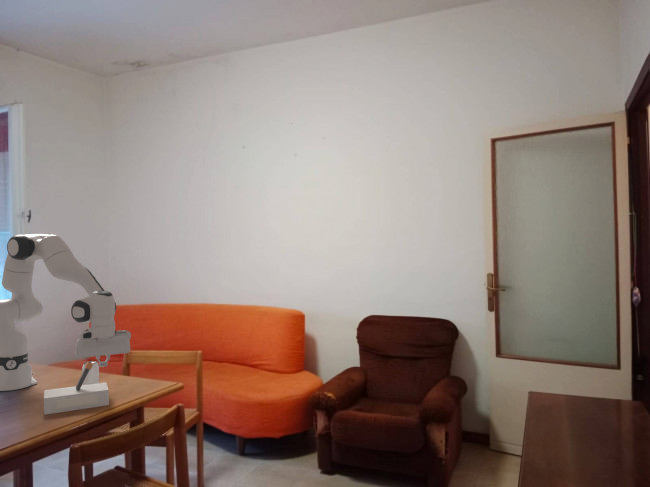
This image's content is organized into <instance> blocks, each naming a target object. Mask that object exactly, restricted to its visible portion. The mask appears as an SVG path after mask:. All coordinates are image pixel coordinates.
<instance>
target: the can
mask: <svg viewBox="0 0 650 487" xmlns="http://www.w3.org/2000/svg"><path fill="white" fill-rule="evenodd" d="M88 362H91V363H93V366H92V368H91V370H89V372H88V374H87V376H86V378H85V380H84V382H83V384H82V385H89V384H96V383H100V367H99V362H98V360H95V361H94V360H89V361H88ZM86 363H87V361H85V362H83V363H82V364H83V365H82V368H81V372H82V373H83V371H84V369H85V365H86ZM82 373H81V374H82Z"/></svg>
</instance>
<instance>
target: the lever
mask: <svg viewBox="0 0 650 487" xmlns="http://www.w3.org/2000/svg"><path fill="white" fill-rule="evenodd" d="M86 362H87V363H86V365H85V369H84V371H83V373H81V376H80V377H79V379H78V381H77V383H76V385H75V386H76V390H77V391H78V390H80V388H81V386H82V384H83V382H84V380H85V378H86V376H87V374H88V372H89V370H91V368H92V366H93V363H91V362H89V361H86Z"/></svg>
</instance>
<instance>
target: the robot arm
mask: <svg viewBox="0 0 650 487" xmlns="http://www.w3.org/2000/svg"><path fill="white" fill-rule="evenodd" d="M6 250H7V254H6V257H5V262H4V267H3V272H2V279H1V286H2V287H3V289H5V290H6V291H8V292H10V293H11V298H6V299H4V298H3V299H0V392H5V391H6V392H7V391H8V392H9V391H15V390H16V391H17V390H20V389H24V388H27V387H31V386H33V385H36V384H37V385H38V381H37V380H36V379H35V378H34V377H33V375H34V373H33V372H32V371H33V370H32V368H33V367H32V365H31V364H30V363H29V362H28V361H29V353H28V352H27V351H28V350H27V348H28V346H27V345H28V342H27V341H28V340H27V338H28V337H27V335H25V333H23V332H21V331H19V330H17V329H16V327H15V324H17V323H19V324H20V323H25V322H26V323H27V322H30V321H33V320H35V319H38V318H39V317H40V316H41V315H42V313H43V303H42V302H41V301H40V299H38V298H37V297H36V296H35V295H34V292H33V289H32V282H33V275H34V269H35V263H36V262H35V261H38V260H42V261H43V263H44V265H45V267H46V269H47V271H48V272H49V273H50V274H51V276H52V277H54V278H55V279H59V280H60V281H61V280H63V281H68V282H71V283H74V284H77V285H79V286H81V287H82V288H83V289H84V290H85V292H86V294H88V296H86V297H84V298H81V299H78V300H77V299H76V301H74V302H73V304H72V305H71V307H70V309H71V310H70V312H71V317H72V319H73V321H75V322H76V323H81V324H83V323H84V324H85V323H90V327H89V328H87V329H83V330H81V331H79V332H78V338H77V340H76V342H75V348H74V356H75V358H77V359H81V358H91V357H92V358H93V357H95V359H96V361H97V362H98V365H99V368H104V367H108V362H109V361H110V358H111V355H119V354H120V355H121V354H129V352H131V342H130V340H131V337H132V334H131V331H128V330H127V329H124V330H118V329H117V330H116V321H115V315H116V312H117V304H116V301H115V298H114V294H113V293H112V292H111V291H107V290H105V289H104V288H103V287H102V285H101V284H100V282H99V281H98V280H97V279H96V277H95V276H94V275H93V273H92V272H91V271H90V269H88V268H87V267H86V266H84V265H83V264H82V263H81V262H80V261H79V259H77V258H76V256H75V255H74V253H73V251H72V250H71V248H70V247H69V245H68V244H67V243H66V241H65V240H64V239H63V238H62V237H61V236H59V235H57V234H50V233H49V234H44V233H32V234H31V233H30V234H17V235H13V236H11V237H10V238H9V239H8V242H7V244H6ZM101 356H105V357H106V359H105V361H101V360H100V359H101Z"/></svg>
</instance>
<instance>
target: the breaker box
mask: <svg viewBox="0 0 650 487" xmlns="http://www.w3.org/2000/svg"><path fill="white" fill-rule="evenodd" d="M109 405H110V389H109V387H108V383H107V382H99V383H96V384H89V385H82V386H81V388H80V390H78V391H77V390H76V385H74V386H67V387H66V386H65V387H59V388H58V387H57V388H51V389H44V393H43V415H46V416H47V415H51V414H52V415H53V414H58V413H64V412H71V411H77V410H78V411H79V410H86V409H91V408H92V409H93V408H99V407H105V406H106V407H107V406H109Z"/></svg>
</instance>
